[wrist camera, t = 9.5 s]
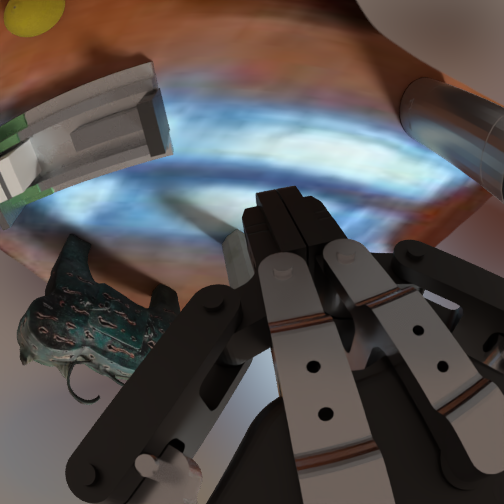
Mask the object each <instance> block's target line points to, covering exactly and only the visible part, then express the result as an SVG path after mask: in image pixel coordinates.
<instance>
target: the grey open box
mask: <svg viewBox="0 0 504 504" xmlns="http://www.w3.org/2000/svg"><path fill="white" fill-rule="evenodd" d="M154 89H158V83H157V79H156V74H155V70H154V65H153V61H152V62H148V63H145V64H142V65H138V66H135V67H132V68H129V69H126V70H122V71H119V72H117V73H114V74H111V75H108V76H105V77H102V78H100V79H97V80H95V81H92V82H89V83H87V84H84V85H82V86H79V87H77V88H75V89H72V90H70V91H68V92H66V93H63V94H61V95H59V96H57V97H55V98H52V99H50V100H48V101H46V102H44V103H42V104H40V105H38V106H36V107H34V108H32V109H31V110H29V111H27V112H25V113H23V114H21V115H19V116H18V117H16V118H14V119H12V120H11V121H9V122H7V123H6V124H4V125H2V126H1V127H0V156H1V155H2V154H3V153H4V152H6V151H8V150H10V149H12V148H13V147H15V146H17V145H19V144H21V143H23V142H25V141H27V140H29V139H30V142H31V144H32V147H33V150H34V152H35V155H36V157H37V160H38V162H39V165H40V167H41V170H42V171H41V172H40V173H39V175H38V176H37V177H36V178H35V179H34V180H33V182H32V183H31V184H30V185H29V186H28V187H27V189H26V190H25V191H24V192H23V193H21V194H19V195H16V196H14V197H13V198H12V199H10V200H6V201H4V202H2V203H0V226H1V228H2V229H3V230H6V229H8V228H10V227H11V226H12V224H13V223H14V221H15V220H16V218H17V217H18V215H19V214H20V213H21V211H22V210H23V208H24V207H25V206H26V204H29V203H31V202H33V201H36V200H38V199H41V198H43V197H46V196H48V195H51V194H53V193H54V192H57V191H60V190H62V189H65V188H67V187H70V186H73V185H76V184H78V183H81V182H84V181H87V180H90V179H93V178H96V177H99V176H102V175H105V174H108V173H111V172H114V171H117V170H120V169H124V168H127V167H130V166H134V165H137V164H140V163H144V162H147V161H151V160H155V159H158V158H162V157H166V156H170V155H173V152H174V149H173V145H172V141H171V137H170V133H169V137H168V142H167V148H166V153H165V154H161V155H158V156H154V157H151V156H150V153H149V149H148V146H147V142H146V139H145V135H144V132H143V130H140V131H137V132H133V133H130V134H127V135H124V136H121V137H118V138H115V139H112V140H109V141H106V142H103V143H100V144H97V145H94V146H92V147H89V148H86V149H83V150H81V151H78V152H76V150H75V148H74V145H73V142H72V139H71V136H70V133H71V132H72V131H74V130H75V129H76V128H78V127H80V126H83V125H85V124H88V123H91V122H93V121H96V120H99V119H102V118H104V117H107V116H110V115H113V114H116V113H119V112H122V111H125V110H128V109H131V108H135V107H137V106H136V105H137V103H138V102H139V101H140V100H141V99H142V97H143V96H144V95H145V94H146V93H147V92H148V91H151V90H154Z"/></svg>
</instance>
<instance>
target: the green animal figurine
mask: <svg viewBox="0 0 504 504" xmlns="http://www.w3.org/2000/svg"><path fill="white" fill-rule="evenodd" d="M90 248H91V244H89V243H87V242H84V241H82V240H80V239H79V238H77V237H76V236H75V235H73V234H70V235H69V237H68V239H67V241H66V243H65V245H64V247H63V249H62V251H61V253H60V255H59V257H58V259H57V261H56V263H55V265H54V267H53V268H52V271H51V276H50V279H49V281H48V284H47V286H46V289H45V296H43V297H40V298H37V299H36V300H34V301H33V302H32V303H31V305H30V306H29V308H28V310H27V311H26V313H25V314H24V316H23V317H22V318H21V320H20V323H19V326H18V330H17V340H18V344H19V345H20V360H21V362H22V364H23V365H26V364H28V363H30V362H31V361H33V360H34V361H36V362H38V363H40V364H43V365H46V366H56V367H57V368H58V369H59V371H60V373H61V374H62V375H63V376H64V377H65V378H66V379H67V385H68V389H69V392H70V393H71V395H72V396H73V397H74V398H75V399H76V400H77V401H78V402H80V403H82V404H86V405H88V404H93V403H95V402H97V401H98V400H99V399H100V396H98V397H97V398H95V399H92V400H84V399H82V398H80V397H78V396H77V395H76V394H75V393H74V392H73V390H72V389H71V387H70V380H69V377H70V374H71V371H72V369H73V367H74V365H75V364H85V365H87V366H88V367H89V368H91V369H92V370H94V371H96V372H97V373H99V374H101V375H104V376H107V377H109V378H111V379H112V380H113V381H115V382H116V383H117V384H119V385H121V386H124V383H122V382H120V381H119V380H117V379H125V380H128V379H129V378H130V377H131V375H132V374H133V373H134V371H135V370H136V369H137V367H138V366H139V365H140V363H141V362H142V361H143V360H144V358H145V357H146V356H147V354H148V353H149V352H150V350H151V349H152V348H153V347H154V345H155V344H156V343H157V341H158V340H159V339H160V338H161V336H162V335H163V334H164V332H165V331H166V330H167V329H168V327H169V326H170V325H171V323H172V322H173V321H174V320H175V318H176V317H177V316H178V315H179V313H180V307H179V302H178V297H177V293H176V292H175V291H174V290H172V289H171V288H169V287H167V286H165V285H162V284H159V285H158V286H157V287H156V289H155V290H154V291H153V293H152V297H151V302H150V306H149V308H144V307H142V306H140V305H138V304H136V303H134V302H133V301H131V300H130V299H128V298H127V297H126V296H124V295H123V294H121V293H120V292H118V291H116V290H115V289H113V288H112V287H110V286H108V285H107V284H105V283H101V284H99V283H96V282H95V281H94V279H93V278H92V275H91V273H90V270H89V266H88V253H89V250H90ZM116 378H117V379H116Z"/></svg>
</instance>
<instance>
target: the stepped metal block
mask: <svg viewBox="0 0 504 504" xmlns="http://www.w3.org/2000/svg"><path fill="white" fill-rule="evenodd" d="M136 106H137V107H135V108H131V109H128V110H125V111H122V112H119V113H116V114H113V115H110V116H107V117H104V118H102V119H99V120H96V121H93V122H91V123H88V124H85V125H83V126H80V127H78V128H76V129H75V130H74V131H72V132H71V133H70V136H71V139H72V142H73V145H74V148H75V150H76V152H78V151H81V150H83V149H86V148H89V147H92V146H94V145H97V144H100V143H103V142H106V141H109V140H112V139H115V138H118V137H121V136H124V135H127V134H130V133H133V132H137V131H140V130H143V132H144V135H145V139H146V142H147V146H148V149H149V153H150V156H151V157H154V156H158V155H161V154H165V153H166V148H167V142H168V137H169V131H170V128H169V124H168V120H167V116H166V112H165V108H164V104H163V99H162V95H161V91H160V88H158V89H154V90H151V91H148V92H147V93H146V94H145V95H144V96H143V97H142V99H141V100H140V101H139V102H138V103H137V105H136Z"/></svg>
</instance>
